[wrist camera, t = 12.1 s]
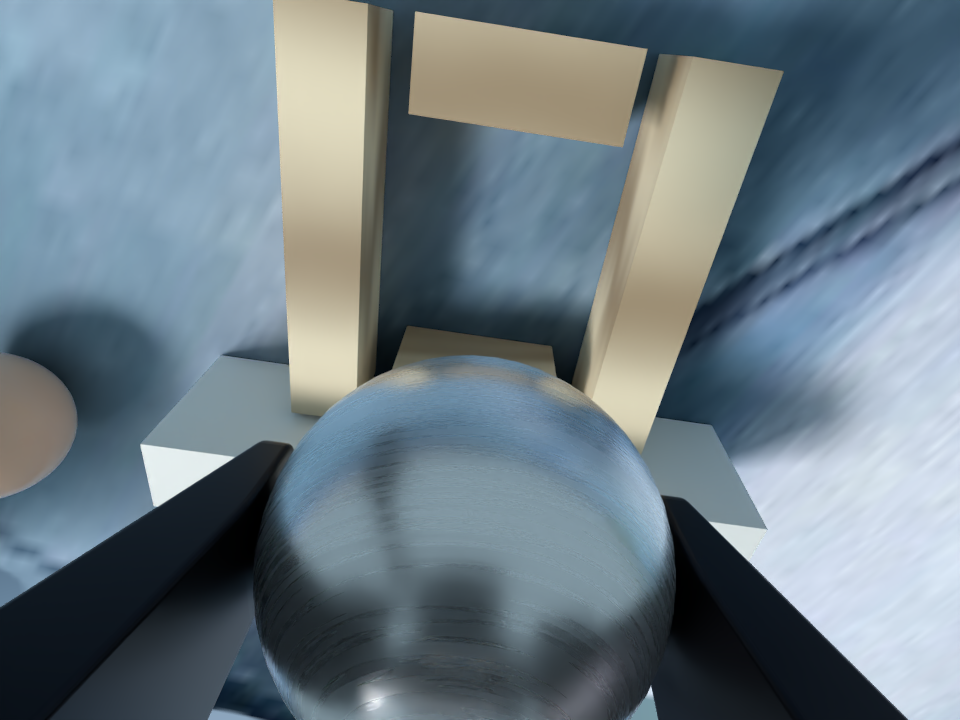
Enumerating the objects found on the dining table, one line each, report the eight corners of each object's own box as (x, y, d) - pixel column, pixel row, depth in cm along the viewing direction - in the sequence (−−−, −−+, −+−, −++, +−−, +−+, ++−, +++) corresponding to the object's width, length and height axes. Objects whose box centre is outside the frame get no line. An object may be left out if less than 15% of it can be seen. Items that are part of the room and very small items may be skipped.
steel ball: (325, 267, 8) (95, 552, 3) (670, 319, 8) (867, 651, 4) (325, 517, 10) (194, 863, 6) (587, 552, 10) (644, 912, 6)
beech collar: (315, -2, 14) (272, -12, 11) (734, 66, 14) (784, 71, 12) (319, 363, 20) (291, 412, 17) (622, 405, 20) (639, 459, 17)
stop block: (221, 355, 20) (140, 444, 15) (711, 425, 20) (767, 529, 16) (227, 409, 21) (153, 506, 16) (689, 473, 21) (736, 583, 17)
